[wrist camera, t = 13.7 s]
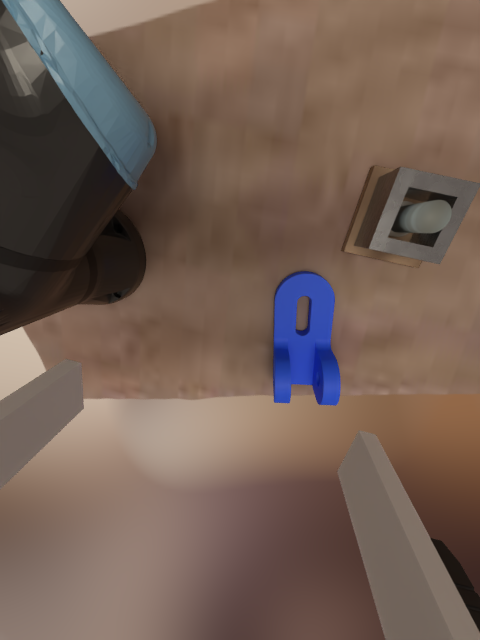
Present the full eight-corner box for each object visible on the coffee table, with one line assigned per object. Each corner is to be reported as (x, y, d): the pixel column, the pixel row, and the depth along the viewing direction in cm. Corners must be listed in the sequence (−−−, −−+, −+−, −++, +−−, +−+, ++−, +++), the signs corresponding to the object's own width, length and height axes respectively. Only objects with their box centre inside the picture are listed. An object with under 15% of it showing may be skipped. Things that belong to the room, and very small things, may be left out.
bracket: (322, 377, 40) (336, 416, 32) (273, 376, 41) (274, 413, 33) (333, 270, 34) (355, 284, 26) (275, 271, 35) (277, 284, 27)
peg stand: (341, 250, 33) (363, 257, 25) (370, 167, 29) (407, 145, 22) (413, 266, 33) (458, 278, 25) (452, 185, 29) (518, 169, 21)
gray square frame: (353, 245, 31) (368, 248, 27) (378, 177, 28) (400, 166, 24) (414, 259, 31) (439, 264, 26) (445, 191, 28) (481, 183, 24)
